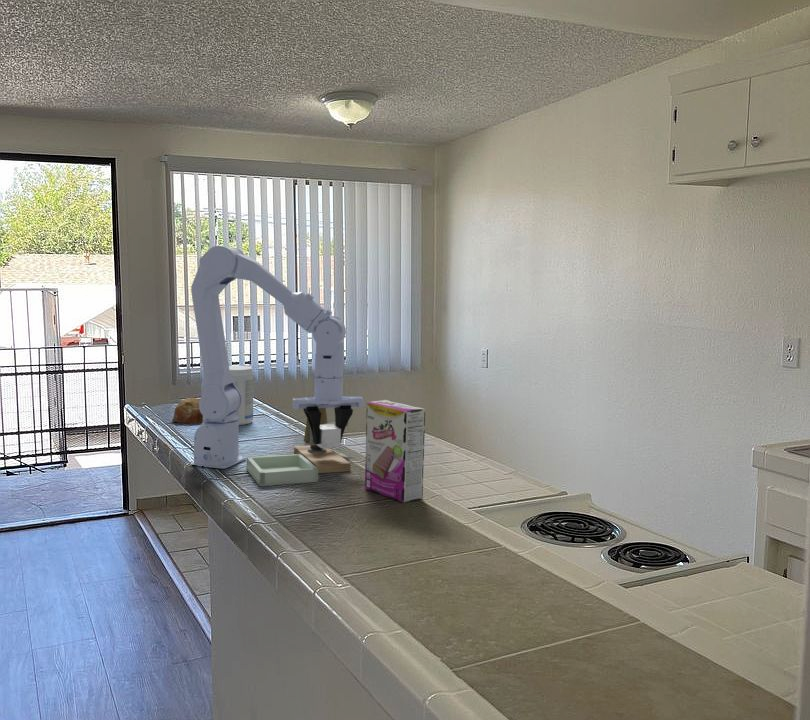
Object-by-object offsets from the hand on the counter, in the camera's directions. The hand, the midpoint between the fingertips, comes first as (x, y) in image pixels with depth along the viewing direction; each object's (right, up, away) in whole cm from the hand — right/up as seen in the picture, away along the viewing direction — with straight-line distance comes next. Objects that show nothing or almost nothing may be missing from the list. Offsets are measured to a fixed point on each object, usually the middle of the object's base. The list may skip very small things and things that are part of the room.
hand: (327, 442), depth 155 cm
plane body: (-2, -5, +5) cm, 7 cm away
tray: (-8, -6, -7) cm, 12 cm away
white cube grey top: (0, -1, 0) cm, 0 cm away
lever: (-1, -2, +11) cm, 11 cm away
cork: (-5, -3, +26) cm, 27 cm away
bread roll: (-41, 0, +47) cm, 62 cm away
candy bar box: (+14, -8, -18) cm, 24 cm away
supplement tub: (-29, 0, +45) cm, 54 cm away
